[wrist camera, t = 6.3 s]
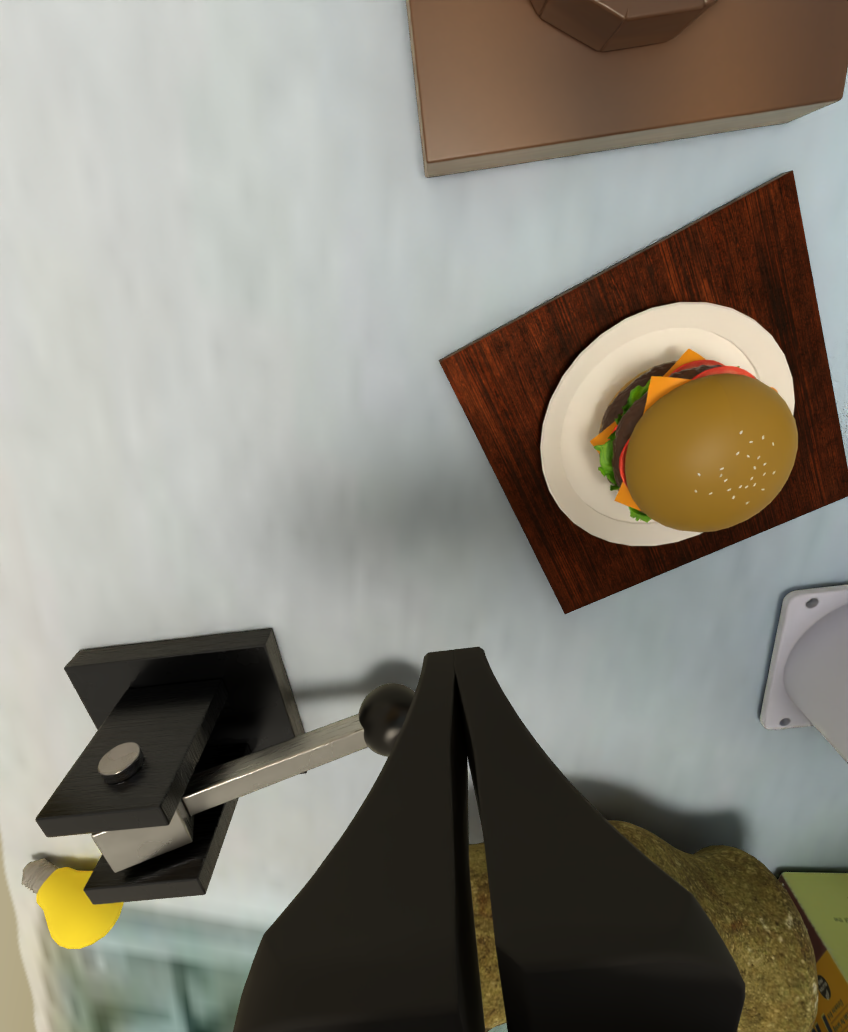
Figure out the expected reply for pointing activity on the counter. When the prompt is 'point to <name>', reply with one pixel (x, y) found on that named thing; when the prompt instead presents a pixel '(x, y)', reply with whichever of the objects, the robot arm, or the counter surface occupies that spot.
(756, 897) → the stone tool
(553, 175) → the counter surface
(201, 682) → the bracket
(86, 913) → the light bulb
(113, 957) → the counter surface
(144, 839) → the lever
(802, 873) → the protein box
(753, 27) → the button block
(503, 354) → the hamburger
